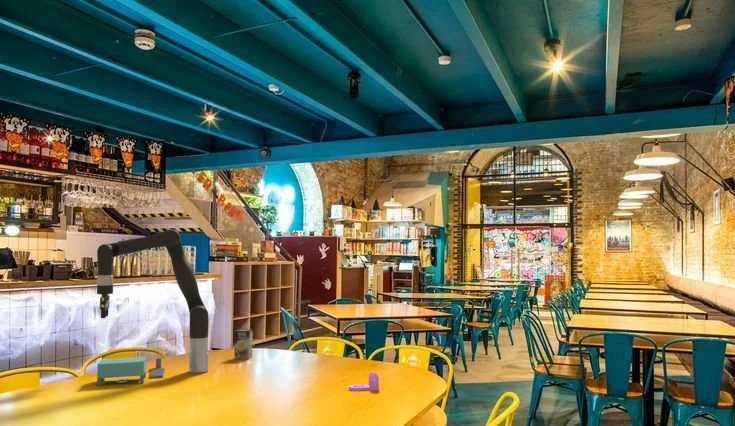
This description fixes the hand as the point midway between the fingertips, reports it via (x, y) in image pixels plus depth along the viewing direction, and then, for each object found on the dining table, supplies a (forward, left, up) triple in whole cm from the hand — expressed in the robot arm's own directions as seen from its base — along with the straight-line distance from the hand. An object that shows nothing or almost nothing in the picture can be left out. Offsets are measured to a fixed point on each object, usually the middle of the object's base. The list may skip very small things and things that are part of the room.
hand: (104, 317), depth 293 cm
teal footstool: (-10, +13, -29) cm, 34 cm away
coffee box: (-70, -30, -30) cm, 82 cm away
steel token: (-10, +13, -30) cm, 34 cm away
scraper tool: (-25, -4, -29) cm, 39 cm away
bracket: (-115, +63, -30) cm, 134 cm away
